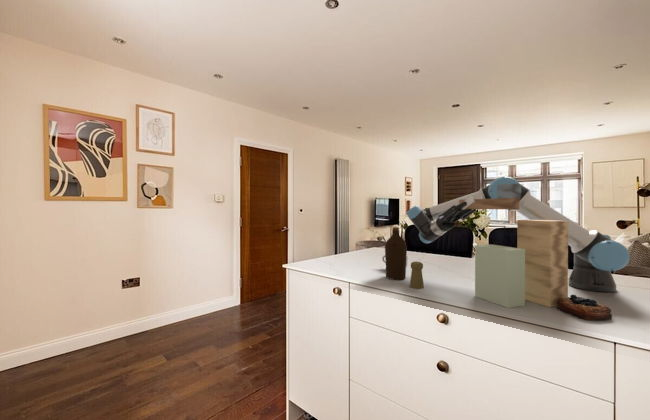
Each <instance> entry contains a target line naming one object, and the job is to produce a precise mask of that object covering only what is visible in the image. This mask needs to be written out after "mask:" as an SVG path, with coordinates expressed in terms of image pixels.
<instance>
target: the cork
mask: <svg viewBox="0 0 650 420" xmlns="http://www.w3.org/2000/svg"><path fill="white" fill-rule="evenodd" d="M410 268H411V274H410V282H409V288H412V289H416V290H417V289H418V290H422V289H424V288H425V284H424V278H423V271H422V270H423V268H424V264H423V263H422V262H421V261H416V260H415V261H412V262H410Z"/></svg>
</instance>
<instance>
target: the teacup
mask: <svg viewBox="0 0 650 420" xmlns="http://www.w3.org/2000/svg"><path fill="white" fill-rule="evenodd" d="M408 257H409V256H408V255H406V268H408ZM381 259H382V262H383V263H384V264H386V259H385V254H384V255H383V256H382V258H381Z"/></svg>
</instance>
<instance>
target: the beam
mask: <svg viewBox="0 0 650 420" xmlns="http://www.w3.org/2000/svg"><path fill="white" fill-rule="evenodd" d="M521 185H522V184H521V183H520V184H501V185H497V199H474V201H475V202H474V203H473V204H471V205H470V206H468V207H467V208H466V209H476V210H508V209H520V198H521ZM464 201H465V200H459V205H460V204H461V203H462V202H464Z"/></svg>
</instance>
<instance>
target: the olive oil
mask: <svg viewBox="0 0 650 420" xmlns="http://www.w3.org/2000/svg"><path fill="white" fill-rule="evenodd" d="M391 231H392V232H391V233H392V234H391V236H390V237H389V238H388V239H387V240H386V241H385V245H384V255H385V257H384V260H385V261H386V263H385V278H387V279H388V280H392V281H401V280H402V281H403V280H405V279H406V274H407V272H406V271H407V269H406V268H407V267H406V256H408V255H407V251H408V246H407V245H408V244H407V243H406V241H405V240H404V238H402V236H401V235H400V227H398V226H396V227H395V226H394V227H392V230H391Z"/></svg>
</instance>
